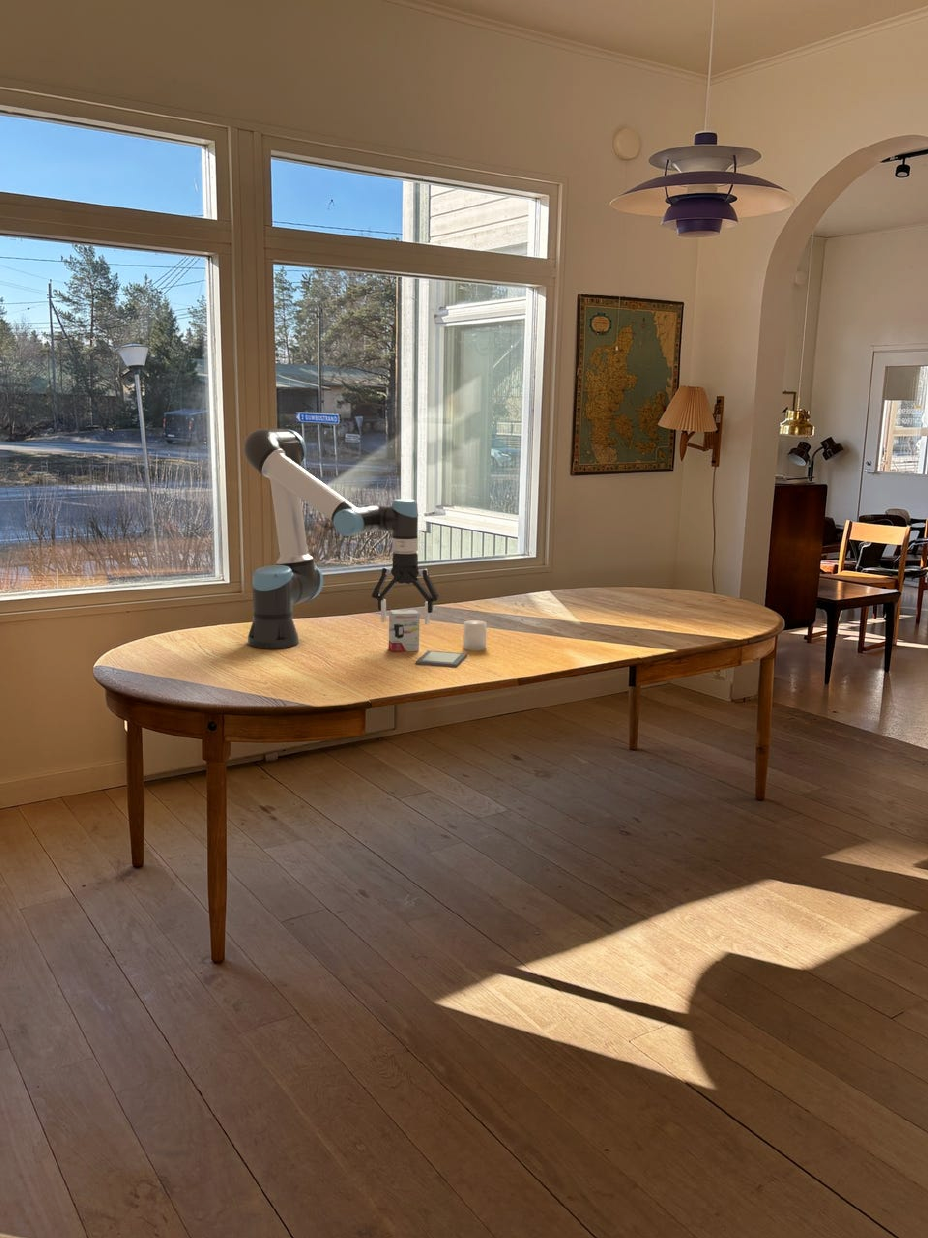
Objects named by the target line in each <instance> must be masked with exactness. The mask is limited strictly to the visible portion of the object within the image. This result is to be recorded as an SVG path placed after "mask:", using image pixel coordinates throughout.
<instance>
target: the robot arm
mask: <svg viewBox="0 0 928 1238" xmlns="http://www.w3.org/2000/svg"><path fill="white" fill-rule="evenodd" d="M243 455H244V458H245V460H246V462H248V464H249V466H250V467H252V468H253V469H254V470H255V471H257V472H258V473H259V474H261V476H263V477H265V478H268V479H269V481H270V488H271V496H272V504H273V510H274V518H275V524H276V525H275V527H276V533H277V534H276V535H277V541H278V547H279V555H280V556H279V558H278V559H277V560H276V564H271V565H264V566H261V567H258V568H257V569H256V570H254V572H253V574H252V583H251V585H252V609H253V610H252V612H253V614H252V615H253V619H252V623H251V626H250V628H249V632H248V635H247V645H248V646H250V647H252V648H258V649H269V650H270V649H271V650H272V649H273V650H274V649H277V650H278V649H286V648H292V647H294V646H297V645H298V644H299V634H298V631H297V629H296V625H295V623H294V620H293V605H297V604H301V603H307V602H309V601H311V600H313V599H315V598H317V596H318V595H319V594H320V593H321V591H322V589H323V585H324V576H323V574H322V571H321V569H319V567H318V566H317V565H315V559H314V556H312V555H310V554H309V551H308V543H307V536H306V529H305V528H306V527H305V520H304V514H303V504H302V501H303V502H304V503H306V504H308V505H309V506H310V507H311V508H313V509H314V510H316V512H318V513H320V514H322V515H323V516H324V517H325V518H327V519H328V520H329V521H331V522H332V523H333V526H334V529H335V531H336V532H337V533H338V534H339V535H342V536H346V537H347V536H351V537H352V536H356V535H360V534H364V533H366V534H367V533H370V532H372V533H373V532H376V531H377V532H391V533H392V551H393V553H392V567H391V568H389V567H388V566H385V567H383V568H382V569H381V576H380V577H379V580H378V582H377V583H376V586H375V588H374V589H373V592H372V594H371V597H372V599H375V600H377V609H378V611H380V616H381V617H380V622H381V623H384V622H386V621H387V599H385V596H386V595H387V594H388V593H390V591H391V590H392V589H393V587H394V586H395V585H396V584H397V583H399V584H406V585H407V584H408V585H409V584H410V585H411V584H412V585H413V586H414V587H415V588H416V589H417V590H418V591H419V593H420V594H421V596H422V597H423V598H424V599H425V600H426V601H425V602H424V625H428V624H430V623H431V622H430V617H431V616H430V614H432V613H433V612H434V611H433V610H434V602H436V601H438V600H439V599H440V596H439V594H438V592H437V590H436V588H435V586H434V584H433V580H432V579H431V578H430V572H429V569H428V568H424V569H419V567H418V566H419V561H418V560H419V553H417V552H418V551H419V537H418V528H419V527H418V526H419V525H418V523H419V522H418V521H419V519H418V518H419V512H418V511H419V510H418V503H417V501H416V500H414V499H394V500H392V503H391V504H392V505H376V504H374V505H373V504H361V505H358V506H355V505H354V504H352V503H351V502H350V501H348V500H347V499H345V498H344V497H343V496H341V494H339V493H337V492H336V491H335V490H333V489H331V487H329V486H328V485H326V484H325V483H323V482H322V481H321V480H319V479H318V478H317V477H315V475H313V474H311V473H310V472H309V471H307V470H306V469H304V468H303V466H302V463H304V461H305V458H306V457H307V446H306V442H305V441H304V438H303V437H302V436H301V434H299V433H298V432H296V431H294V430H293V429H289V428H288V429H287V428H269V429H268V428H260V429H255V430H254V431H252V432H250V433H249V434H248V435H247V437H246V438H245V440H244V443H243ZM390 574H391V575H392V576H393V578H392V579H391V580H390V582H389V583H388V585H386V587H385V588H384V589H383V591H381V590H382V587H383V585H384V584H385V581H386V579H387V577H388V576H389V575H390ZM419 575H420V576H421V578H423V581H424V583H425V585H426V587H427V589H426V587H425V586H424V585H423V584H422V582H421V580H420V579H419V578H418V576H419ZM428 591H429V592H428Z"/></svg>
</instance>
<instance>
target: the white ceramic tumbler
mask: <svg viewBox="0 0 928 1238" xmlns="http://www.w3.org/2000/svg"><path fill="white" fill-rule="evenodd" d="M487 625H488V624H487V622H486V621H484V620H478V619H476V620H474V619H473V620H471V619H470V620H465V621H464V622H463V640H462V641H463V642H462V643H463V645H462V647H463V649H464V650H467V651H470V652H471V651H472V652H473V651H474V652H475V651H479V652H480V651H485V650H486V649H487V628H488V627H487Z"/></svg>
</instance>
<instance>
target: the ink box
mask: <svg viewBox="0 0 928 1238" xmlns="http://www.w3.org/2000/svg"><path fill="white" fill-rule="evenodd" d="M388 613H389V614H388V617H389V618H388V650H390V651H391V652H392V653H395V652H397V653H400V652H419V651H420V623H421V622H420V621H421V619H420V617H421V615H420V612H419V611H417V610H415V609H400V610H399V609H391V610H389V612H388Z"/></svg>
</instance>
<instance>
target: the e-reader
mask: <svg viewBox="0 0 928 1238" xmlns="http://www.w3.org/2000/svg"><path fill="white" fill-rule="evenodd" d="M466 657H468V653H466V652H455V651H454V652H453V651H440V650H439V651H438V650H428V649H427V651H425V652H424V653H423V654H422V655H421V656H420V657H419V658H418V659H417V660H415V665H422V666H423V665H424V666H426V665H427V666H437V667H449V668H457V667H458V666H460V664H461V663H462V662H463V661H464V660H465V659H466Z"/></svg>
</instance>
